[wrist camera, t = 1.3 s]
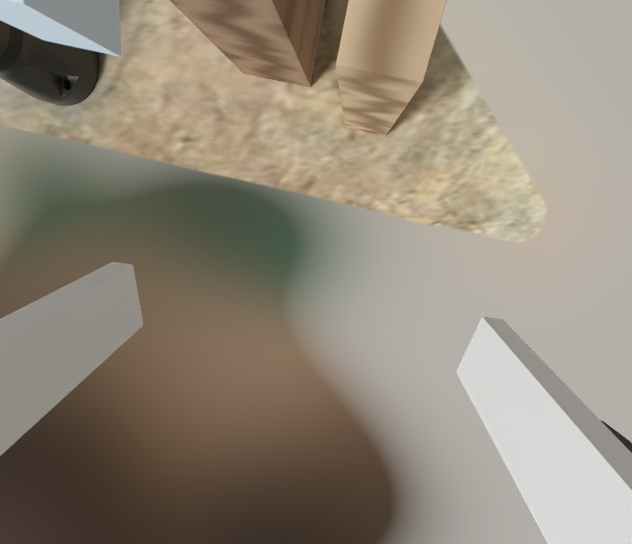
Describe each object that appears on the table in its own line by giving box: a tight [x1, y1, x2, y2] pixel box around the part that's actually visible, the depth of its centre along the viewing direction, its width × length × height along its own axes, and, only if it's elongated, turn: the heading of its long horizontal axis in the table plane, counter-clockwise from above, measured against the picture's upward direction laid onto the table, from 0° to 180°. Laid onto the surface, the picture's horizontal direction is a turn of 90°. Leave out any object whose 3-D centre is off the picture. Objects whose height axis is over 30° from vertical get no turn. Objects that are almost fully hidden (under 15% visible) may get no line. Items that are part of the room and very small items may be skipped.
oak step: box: [336, 0, 447, 136], centre depth 27 cm, size 6×10×22 cm, turn 168°
